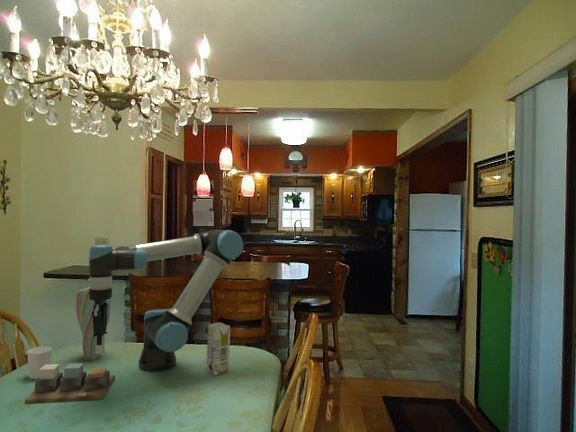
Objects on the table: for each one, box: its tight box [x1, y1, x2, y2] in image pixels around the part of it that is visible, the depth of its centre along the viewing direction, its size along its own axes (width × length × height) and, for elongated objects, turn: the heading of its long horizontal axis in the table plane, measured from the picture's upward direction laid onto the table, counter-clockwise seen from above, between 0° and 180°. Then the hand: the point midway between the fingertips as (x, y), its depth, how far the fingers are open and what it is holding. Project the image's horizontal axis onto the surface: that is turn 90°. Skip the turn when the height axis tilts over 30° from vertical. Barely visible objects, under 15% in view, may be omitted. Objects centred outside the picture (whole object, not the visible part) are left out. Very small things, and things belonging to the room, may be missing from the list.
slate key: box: [63, 362, 84, 379], centre depth 144 cm, size 5×5×5 cm
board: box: [24, 370, 116, 404], centre depth 144 cm, size 24×18×5 cm
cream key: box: [39, 363, 60, 380], centre depth 142 cm, size 5×5×5 cm
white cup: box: [27, 346, 52, 380], centre depth 155 cm, size 8×8×10 cm
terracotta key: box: [88, 367, 108, 378], centre depth 145 cm, size 5×5×5 cm
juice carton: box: [206, 322, 231, 376], centre depth 165 cm, size 8×9×19 cm
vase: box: [75, 286, 112, 361], centre depth 177 cm, size 14×14×30 cm
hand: (100, 353), depth 145 cm, fingers closed
